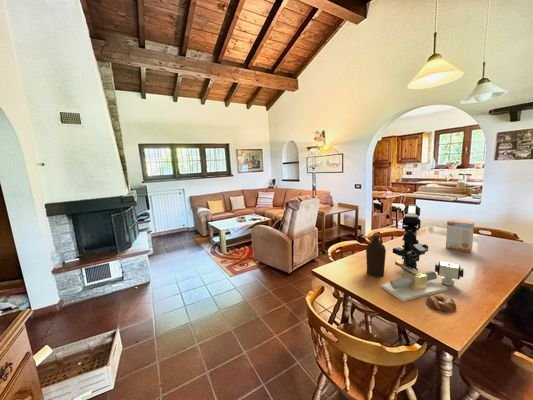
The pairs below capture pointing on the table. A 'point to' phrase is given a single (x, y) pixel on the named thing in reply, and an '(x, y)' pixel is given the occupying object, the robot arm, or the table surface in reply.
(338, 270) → the table surface
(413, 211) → the robot arm
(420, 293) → the mount board
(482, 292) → the table surface
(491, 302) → the table surface
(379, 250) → the olive oil
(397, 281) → the valve body
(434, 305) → the pretzel
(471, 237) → the cracker box
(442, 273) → the pneumatic valve
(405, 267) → the valve lever
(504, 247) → the table surface
